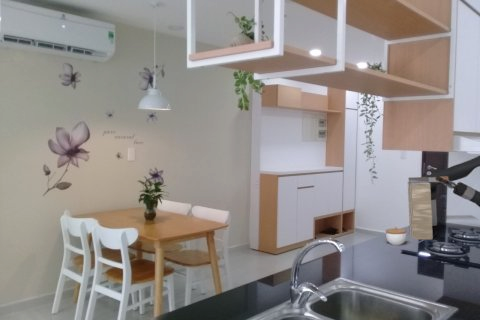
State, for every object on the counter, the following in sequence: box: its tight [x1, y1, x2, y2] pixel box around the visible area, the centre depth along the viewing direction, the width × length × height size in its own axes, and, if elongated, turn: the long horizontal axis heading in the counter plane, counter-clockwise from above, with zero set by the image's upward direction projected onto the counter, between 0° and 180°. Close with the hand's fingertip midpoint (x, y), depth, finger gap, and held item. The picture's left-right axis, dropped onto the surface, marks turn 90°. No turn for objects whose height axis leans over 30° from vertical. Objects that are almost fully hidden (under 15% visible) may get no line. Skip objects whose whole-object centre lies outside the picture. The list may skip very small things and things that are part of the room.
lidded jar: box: [385, 226, 407, 246], centre depth 234 cm, size 11×11×9 cm
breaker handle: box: [429, 176, 448, 182], centre depth 248 cm, size 4×18×3 cm, turn 76°
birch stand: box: [407, 176, 434, 240], centre depth 250 cm, size 15×10×35 cm, turn 166°
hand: (435, 177), depth 247 cm, fingers closed on breaker handle, 3 cm apart
